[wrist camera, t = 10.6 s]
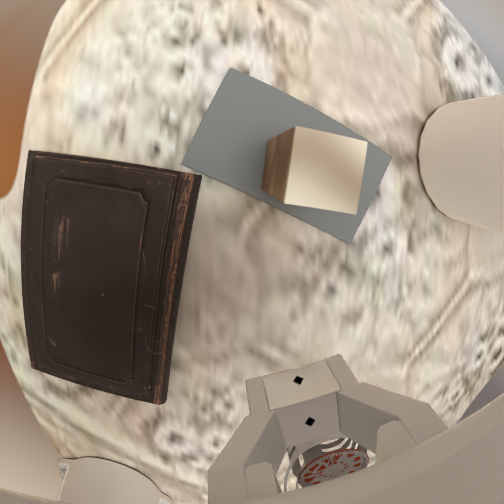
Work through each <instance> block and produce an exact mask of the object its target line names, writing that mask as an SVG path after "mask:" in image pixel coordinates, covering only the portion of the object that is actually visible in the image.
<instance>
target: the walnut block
mask: <svg viewBox="0 0 504 504" xmlns="http://www.w3.org/2000/svg"><path fill="white" fill-rule="evenodd" d="M367 143H368V142H366V141H362V140H358V139H354V138H350V137H346V136H341V135H337V134H333V133H328V132H324V131H319V130H314V129H309V128H304V127H299V126H295V127H293V128H291V129H289V130H287V131H285V132H283V133H281V134H279V135H277V136H275V137H273V138H271V139H269V140H268V143H267V150H266V157H265V164H264V171H263V178H262V185H261V189H263V190H264V191H266V192H267V193H269V194H270V195H272V196H274V197H275V198H277V199H278V200H280V201H282V202H283V203H285V204H292V205H299V206H305V207H312V208H319V209H325V210H331V211H338V212H344V213H350V214H356V213H357V207H358V202H359V196H360V190H361V184H362V178H363V171H364V165H365V158H366V150H367Z"/></svg>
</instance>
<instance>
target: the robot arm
mask: <svg viewBox="0 0 504 504" xmlns="http://www.w3.org/2000/svg"><path fill="white" fill-rule="evenodd" d="M246 390H247V396H248V403H249V409H250V416H246V417H245V418H244V420H243V421H242V423H241V424H240V426H239V427H238V429H237V430H236V432H235V433H234V435H233V436H232V437H231V439H230V440H229V442H228V443H227V445H226V446H225V447H224V449H223V450H222V452H221V453H220V454H219V456H218V457H217V459H216V460H215V461H214V463H213V464H212V465H211V467H210V468H209V470H208V504H504V393H503V394H502V395H500V396H499V397H497V398H496V399H495V400H493V401H492V402H490V403H489V404H487V405H486V406H484V407H483V408H481V409H480V410H478V411H477V412H475V413H474V414H472V415H470V416H469V417H467V418H466V419H464V420H462V421H461V422H459V423H457V424H456V425H454V426H452V427H450V428H449V429H448V427H447V426H446V425H445V424H444V422H443V421H442V420H441V419H440V417H439V416H438V415H437V414H436V412H435V411H434V410H433V409H432V408H431V406H430V405H429V404H428V403H425V402H422V401H419V400H415V399H412V398H409V397H406V396H403V395H400V394H397V393H394V392H391V391H388V390H385V389H382V388H379V387H376V386H374V385H371V384H368V383H365V382H363V383H360V384H359V382H358V380H357V379H356V377H355V376H354V374H353V373H352V371H351V370H350V368H349V366H348V365H347V363H346V362H345V360H344V359H343V357H342V356H341V355H340V354H337V355H334V356H331V357H328V358H325V359H324V360H321V361H318V362H314V363H311V364H308V365H304V366H301V367H298V368H294V369H290V370H286V371H282V372H278V373H273V374H269V375H265V376H262V377H257V378H253V379H248V380H246ZM339 432H341V434H343V435H344V436H346V437H348V438H349V439H351V440H353V441H354V442H356V443H358V444H359V445H361V446H363V447H364V448H366V449H368V450H370V451H371V452H373V453H375V454H376V459H375V464H374V465H371V466H369V467H366V468H364V469H361V470H358V471H356V472H353V473H350V474H347V475H344V476H341V477H338V478H335V479H332V480H329V481H326V482H322V483H319V484H315V485H312V486H308V487H305V488H301V489H297V490H293V491H289V492H285V493H282V491H281V488H280V485H279V483H278V480H277V478H276V474H277V471H278V469H279V467H280V464H281V462H282V460H283V457H284V455H285V452H286V450H287V448H288V447H292V446H295V445H298V444H302V443H305V442H308V441H311V440H315V439H318V438H322V437H325V436H329V435H332V434H335V433H339ZM57 465H58V468H59V471H60V474H61V477H62V479H63V482H62V485H61V488H60V492H59V495H58V498H57V501H55V500H49V499H44V498H39V497H34V496H30V495H25V494H21V493H17V492H13V491H10V490H6V489H2V488H0V504H171V498H169V497H168V496H166V495H165V494H163V493H162V492H160V491H159V490H158V488H157V487H156V486H155V484H154V483H153V482H152V481H151V480H149V479H148V478H147V477H145V476H144V475H142V474H140V473H139V472H137V471H135V470H133V469H131V468H128V467H126V466H124V465H121V464H118V463H115V462H112V461H108V460H104V459H99V458H91V457H85V458H79V459H74V460H71V459H65V458H59V459H58V463H57Z"/></svg>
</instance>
